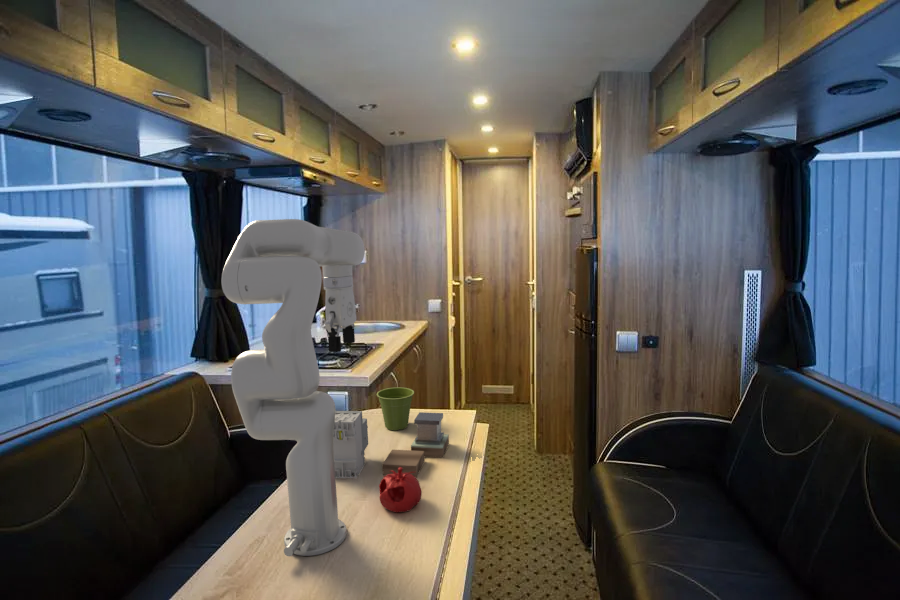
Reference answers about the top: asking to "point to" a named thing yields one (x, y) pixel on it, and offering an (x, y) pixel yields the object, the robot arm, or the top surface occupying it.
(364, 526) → the top surface
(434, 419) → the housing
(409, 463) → the stand
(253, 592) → the top surface
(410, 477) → the pomegranate
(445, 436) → the stand
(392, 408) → the plant pot
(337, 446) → the circuit breaker
